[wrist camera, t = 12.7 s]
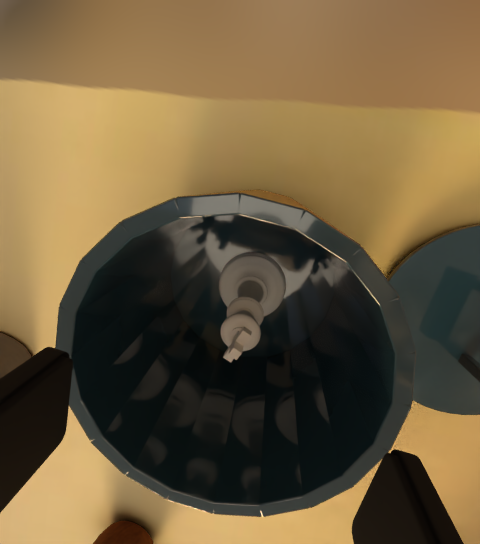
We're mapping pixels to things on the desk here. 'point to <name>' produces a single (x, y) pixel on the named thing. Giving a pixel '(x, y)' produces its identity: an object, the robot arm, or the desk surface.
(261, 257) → the chess piece
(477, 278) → the lid
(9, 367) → the flask
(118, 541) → the wooden figurine
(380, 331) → the pot
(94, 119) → the desk surface
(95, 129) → the desk surface
